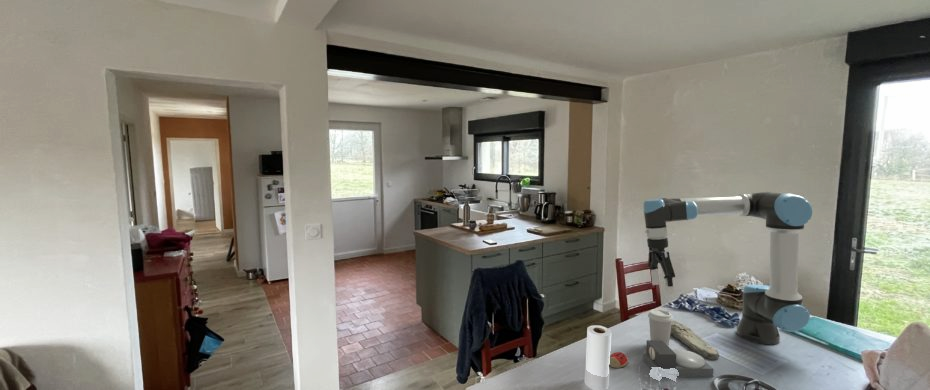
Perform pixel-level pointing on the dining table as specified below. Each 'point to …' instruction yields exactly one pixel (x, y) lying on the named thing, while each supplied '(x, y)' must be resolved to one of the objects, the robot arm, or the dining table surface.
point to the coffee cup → (660, 325)
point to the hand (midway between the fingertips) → (662, 289)
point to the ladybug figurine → (618, 360)
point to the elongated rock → (693, 341)
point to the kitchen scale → (676, 360)
